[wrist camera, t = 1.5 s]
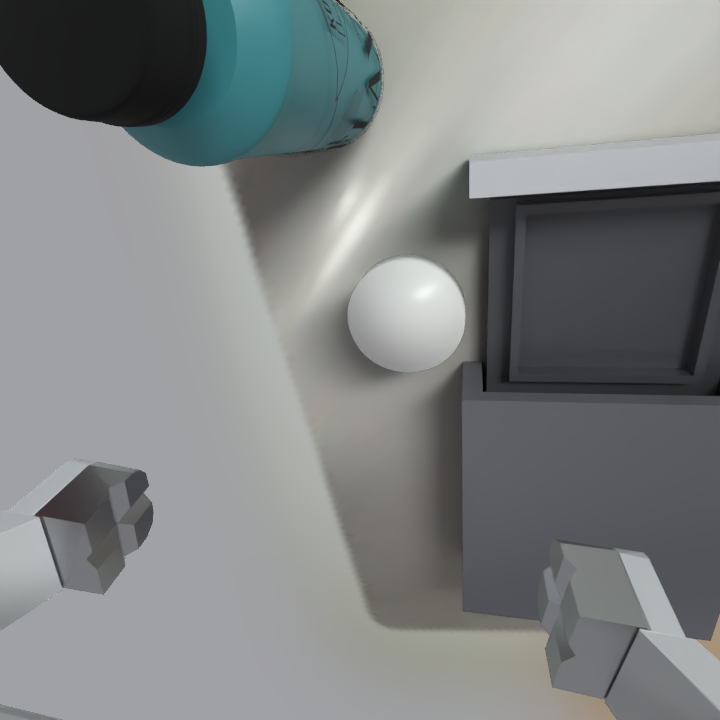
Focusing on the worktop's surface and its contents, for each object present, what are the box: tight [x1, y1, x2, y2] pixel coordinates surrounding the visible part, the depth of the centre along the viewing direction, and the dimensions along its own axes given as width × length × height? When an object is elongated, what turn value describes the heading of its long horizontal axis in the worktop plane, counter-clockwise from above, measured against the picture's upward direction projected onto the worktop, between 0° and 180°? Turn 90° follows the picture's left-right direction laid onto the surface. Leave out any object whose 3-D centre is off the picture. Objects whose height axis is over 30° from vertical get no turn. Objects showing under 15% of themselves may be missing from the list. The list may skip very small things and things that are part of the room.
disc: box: [347, 255, 465, 373], centre depth 27 cm, size 6×6×2 cm
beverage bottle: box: [0, 0, 384, 166], centre depth 17 cm, size 6×7×20 cm
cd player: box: [462, 362, 720, 641], centre depth 32 cm, size 18×16×5 cm
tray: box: [469, 133, 720, 396], centre depth 26 cm, size 18×15×5 cm
